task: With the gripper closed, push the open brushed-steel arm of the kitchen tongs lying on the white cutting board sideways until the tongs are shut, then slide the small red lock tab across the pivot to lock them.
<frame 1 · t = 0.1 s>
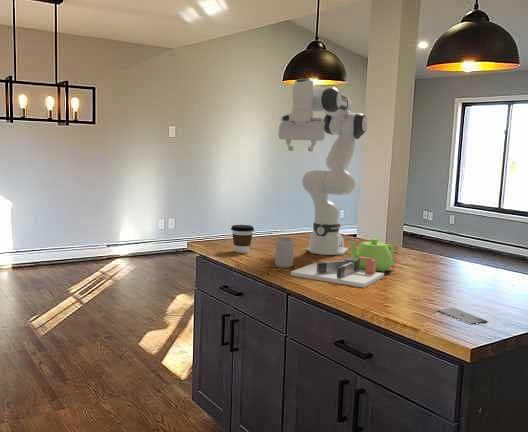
hand: (300, 151, 238), 48 cm above the counter, fingers open, 8 cm apart
can: (283, 266, 235), on the counter
board: (337, 276, 221), on the counter
coffee cup: (241, 252, 265), on the counter
teapot: (369, 270, 236), on the counter
tongs arm: (332, 266, 221), point 4 cm above the counter, hinge at 28.0°
tongs fixed: (350, 270, 225), resting on board
lock tab: (366, 264, 223), point 5 cm above the counter, slide at 0.0 cm
smartphone: (461, 318, 173), on the counter
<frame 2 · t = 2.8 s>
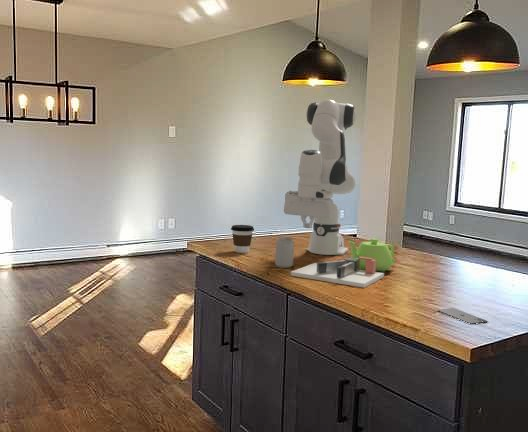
hand: (307, 227, 219), 19 cm above the counter, fingers closed
nothing on the counter moved.
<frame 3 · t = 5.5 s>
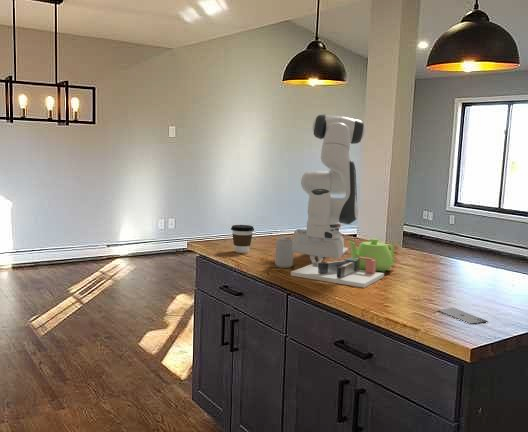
hand: (316, 267, 218), 4 cm above the counter, fingers closed
tongs arm: (333, 266, 221), point 4 cm above the counter, hinge at 24.1°, touching gripper
everything else where it was.
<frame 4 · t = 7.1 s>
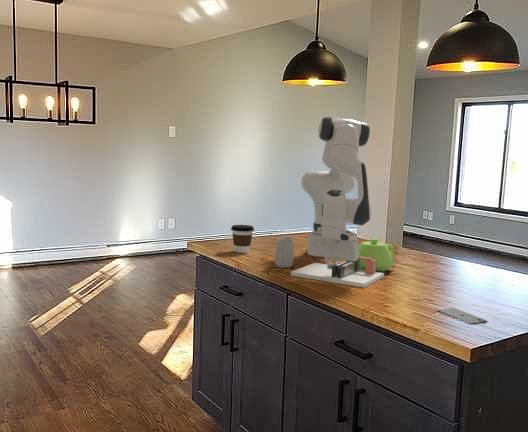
hand: (331, 269, 216), 4 cm above the counter, fingers closed
tongs arm: (340, 268, 218), point 4 cm above the counter, hinge at -1.7°, touching gripper
everything else where it was.
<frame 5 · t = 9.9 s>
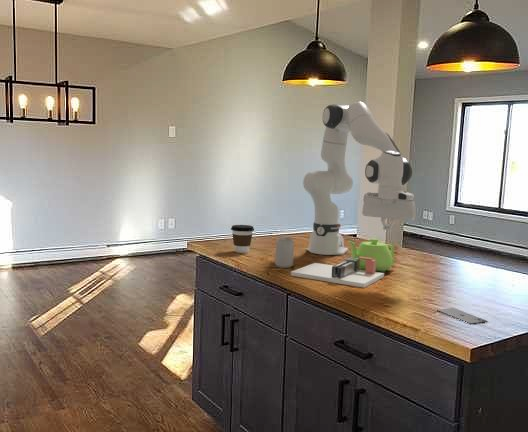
hand: (387, 229, 217), 19 cm above the counter, fingers closed
tongs arm: (340, 268, 218), point 4 cm above the counter, hinge at -1.8°
everything else where it was.
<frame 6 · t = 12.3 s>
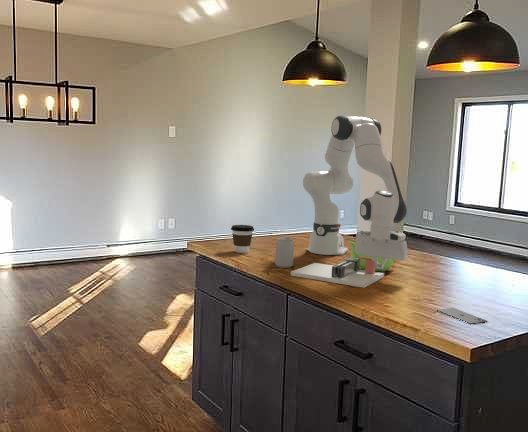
hand: (379, 268, 220), 4 cm above the counter, fingers closed
lock tab: (366, 264, 223), point 5 cm above the counter, slide at 0.1 cm, touching gripper
everything else where it was.
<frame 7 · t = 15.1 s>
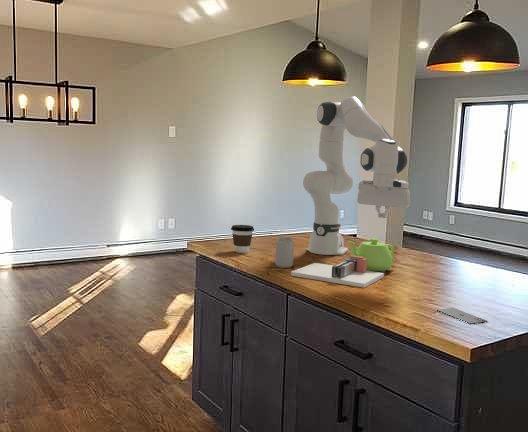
hand: (382, 217, 218), 24 cm above the counter, fingers closed
lock tab: (357, 263, 225), point 5 cm above the counter, slide at 3.7 cm
everything else where it was.
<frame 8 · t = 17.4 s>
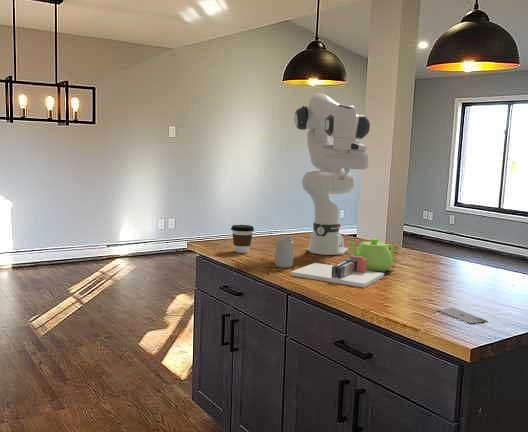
hand: (342, 179, 229), 37 cm above the counter, fingers closed
nothing on the counter moved.
at the end: tongs arm at -2° (first picture: +28°); lock tab slide at 3.7 cm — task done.
